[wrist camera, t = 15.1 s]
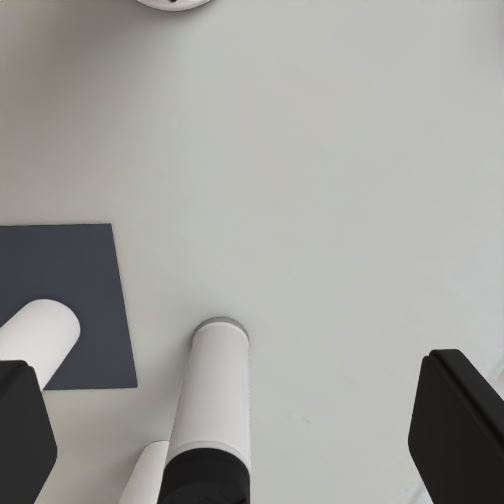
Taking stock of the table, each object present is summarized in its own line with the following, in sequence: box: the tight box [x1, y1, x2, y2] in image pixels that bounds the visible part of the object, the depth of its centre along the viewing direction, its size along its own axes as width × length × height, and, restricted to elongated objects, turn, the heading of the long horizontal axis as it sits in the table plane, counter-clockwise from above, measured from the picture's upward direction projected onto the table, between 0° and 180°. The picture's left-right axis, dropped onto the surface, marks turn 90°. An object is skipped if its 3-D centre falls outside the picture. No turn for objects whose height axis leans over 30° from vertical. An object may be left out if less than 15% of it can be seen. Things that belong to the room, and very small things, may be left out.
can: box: [0, 299, 80, 391], centre depth 35 cm, size 6×6×12 cm
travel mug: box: [157, 317, 251, 504], centre depth 33 cm, size 6×7×20 cm
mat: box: [0, 224, 138, 390], centre depth 40 cm, size 20×14×1 cm
